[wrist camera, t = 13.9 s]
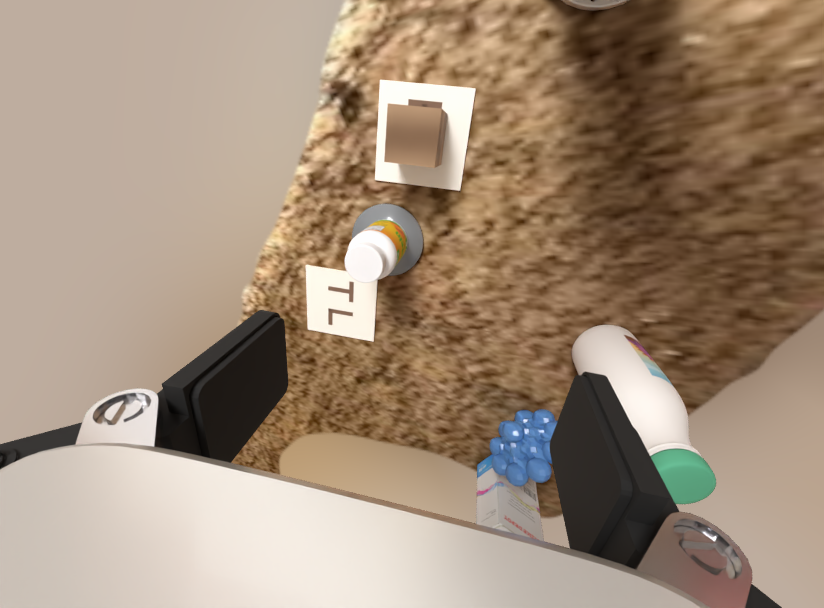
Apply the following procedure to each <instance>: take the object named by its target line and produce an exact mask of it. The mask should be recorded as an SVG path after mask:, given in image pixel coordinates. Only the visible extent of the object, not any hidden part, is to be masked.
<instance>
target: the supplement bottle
mask: <svg viewBox="0 0 824 608" xmlns="http://www.w3.org/2000/svg"><path fill="white" fill-rule="evenodd" d="M407 245H408V239H407V235H406V232H405V231H404V229H403V228H402V227H401V226H400V225H399V224H398V223H397V222H395V221H392V220H387V219H383V220H378V221H376V222H374V223H373V224H371V225H370V226H368V227H367V228H366V229H364V230H363V231H362V232H360V233H359V234H357V235H356V236H355V237H354V238H353V239H352V241H351V242H350V244H349V247H348V252H347V254H346V257H345V267H346V270H347V272H348V274H349V275H350V276H351V277H352V278H353V279H355V280H356V281H359V282H362V283H370V282H373V281H375V280H378V279H382V278H384V277H386V276H387V275H389V274H390V273H391V272H392V270H393V269H394V268H395V266H396V265H397V264H398V262H399V261H400V259H401V258H402V256H403V255H404V253H405V252H406V249H407Z"/></svg>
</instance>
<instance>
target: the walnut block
mask: <svg viewBox="0 0 824 608" xmlns="http://www.w3.org/2000/svg"><path fill="white" fill-rule="evenodd" d="M447 115H448V114H447V113H446V112H445V111H444V110H443V109H440V108H430V107H420V106H410V105H400V104H390V103H388V107H387V123H386V140H385V156H384V162H389V163H397V164H406V165H414V166H422V167H431V168H436V167H438V166H440V165H441V163H442V155H443V147H444V139H445V131H446V123H447Z"/></svg>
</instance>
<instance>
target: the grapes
mask: <svg viewBox="0 0 824 608" xmlns="http://www.w3.org/2000/svg"><path fill="white" fill-rule="evenodd" d="M514 419H515V421H503V422H501V423H500V425H499V434H500V435H501V437H496V438H493V439H492V440H491V442H490V451H491V452H492V454H493V455H494V456H493V458H492V468H493V470H494V471H495V473H497V474H498V475H502V476H506V478H507V480H508V481H509V483H511V484H512V485H514V486H519V487H521V486H523V485H525V484H526V483H527V482H528V479H529V477H530V479H532V480H533V481H535V482H539V483H543V482H546V481H547V480H548V479H549V478H550V477H551V473H552V472H551V466H550V465H549V464H548V462H549V463H551V464H552V460H551V455H550V440H551V437H552V435H553V432H554V429H555V427H556V424H557V422H558V421H555V419H554V415H553V414H552V413H551V412H550V411H548V410H543V409H540V410H537V411H535V412H534V413H532V412H530V411H528V410H520V411H518V412H517V413H516V414H515V418H514Z"/></svg>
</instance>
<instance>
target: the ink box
mask: <svg viewBox="0 0 824 608" xmlns="http://www.w3.org/2000/svg"><path fill="white" fill-rule="evenodd" d="M493 456H494V455H493V454H492V455H490V456H489V457H488V458H486V459H485V460H483V461H482V462H481V463H479V464H478V465H477V508H476V524H479V525H483V526H487V527H491V528H495V529H499V530H503V531H506V532H510V533H514V534H518V535H522V536H526V537H529V538H533V539H537V540H540V541H544V538H543V531H542V525H541V517H540V510H539V503H538V496H537V488H536V482H535V481H533V480H532V479H530V477H529V479H528V482H527V483H526V484H525V485H523V486H521V487H519V486H514V485H512V484H511V483H509V481H508V480H507V478H506V476H502V475H498V474H497V473H495V471H494V470H493V468H492V458H493Z"/></svg>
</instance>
